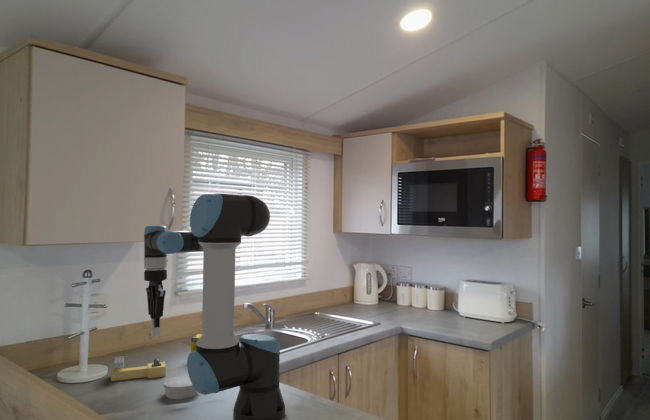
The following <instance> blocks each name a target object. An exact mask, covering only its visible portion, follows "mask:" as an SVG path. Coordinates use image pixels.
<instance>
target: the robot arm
mask: <svg viewBox="0 0 650 420" xmlns="http://www.w3.org/2000/svg"><path fill="white" fill-rule="evenodd" d="M270 220H271V214H270V209H269V207H268V205H267V204H266V203H265V202H264V200H262V199H261V198H260V197H258V196H255V195H251V194H235V193H218V192H216V193H215V192H214V193H203V194H201V195H199V197H197V198H196V200H195V201H194V203H193V205H192V207H191V211H190V215H189V227H190V230H168V229H167V226H166V225H147V226H145V227H144V232H143V241H144V242H143V245H144V247H143V250H144V253H143V254H144V255H143V256H144V257H143V268H144V269H145V270H144V273H143V275H144V277H143V280H144V281H145V282H148V286H147V287H146V288H145V291H146V297H147V299H146V300H147V310H148V315H149V317H150V338H157V337H161V318H162V317H163V316H164V309H165V308H164V306H165V295H166V289H164V286H163V281H166V280H167V279H168V274H167V272H168V270H167V269H166V268H167V266H168V264H167V262H169V259H168V255H174V254H181V253H182V254H183V253H196V252H197V253H200V252H202V253H203V257H202V258H203V260H202V261H203V262H202V263H203V265H202V268H203V270H202V312H201V313H202V314H201V315H202V316H201V317H202V318H201V326H202V327H201V334H202V336H201V337H200V338H199V339H198V340H197V342H196V351H193V352H191V351H190V353H189V354H188V357H187V359H186V367H187V373H188V376H189V378H190V380H191V383H192V385H193V387H194V388H195V389H196V391H197V393H199V394H200V395H204V396H205V395H210V394H217V393H220V392H224V391H227V390H230V389H233V388H237V387H239V389H238V390H239V391H238V393H237V397H236V400H235V403H234V405H233V411H232V413H233V419H234V420H283V419H284V418H285V415H286V403H285V401H284V397H283V395H282V394H283V393H282V392H281V388H280V362H281V361H280V360H281V359H280V355H281V352H280V342H279V340H278V339H277V338H276V337H274V336H271V335H266V334H261V333H260V334H259V333H247V334H242V335H241V336H240V337H239V338H238V337H237V336H236V335H235V294H236V293H235V292H236V290H235V289H236V288H235V287H236V286H235V285H236V284H235V283H236V249H237V247H239V245H241V244H242V237H253V236H255V235H258V234H260V233H262V232H263V231H265V230H266V229H267V228H268V226H269V224H270ZM283 417H284V418H283ZM282 418H283V419H282Z"/></svg>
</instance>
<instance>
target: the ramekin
mask: <svg viewBox="0 0 650 420" xmlns="http://www.w3.org/2000/svg"><path fill="white" fill-rule="evenodd" d="M163 388H164V393H165V397H166V398H168V399H170V400H184V399H190V398H191V397H194V396H196V395H197V394H198V392H197V391H196V389H195V388H194V387H193V385H192V383H191V380H190V378H189V374H188V375H176V376H172V377H170V378H167V379H166V380H164V381H163Z"/></svg>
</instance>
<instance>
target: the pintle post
mask: <svg viewBox="0 0 650 420" xmlns="http://www.w3.org/2000/svg"><path fill="white" fill-rule="evenodd" d="M160 362H161V361H160V358H154V359H153V363H154V367H156V366H159V364H160Z"/></svg>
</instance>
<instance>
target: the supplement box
mask: <svg viewBox="0 0 650 420" xmlns="http://www.w3.org/2000/svg"><path fill="white" fill-rule="evenodd" d="M201 336H202V333H197V334H196V335H195V336H194V335H193V336H192V337H191V338H190V353H191V352H193V351H196V342H197V340H198V339H199V338H200V337H201Z"/></svg>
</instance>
